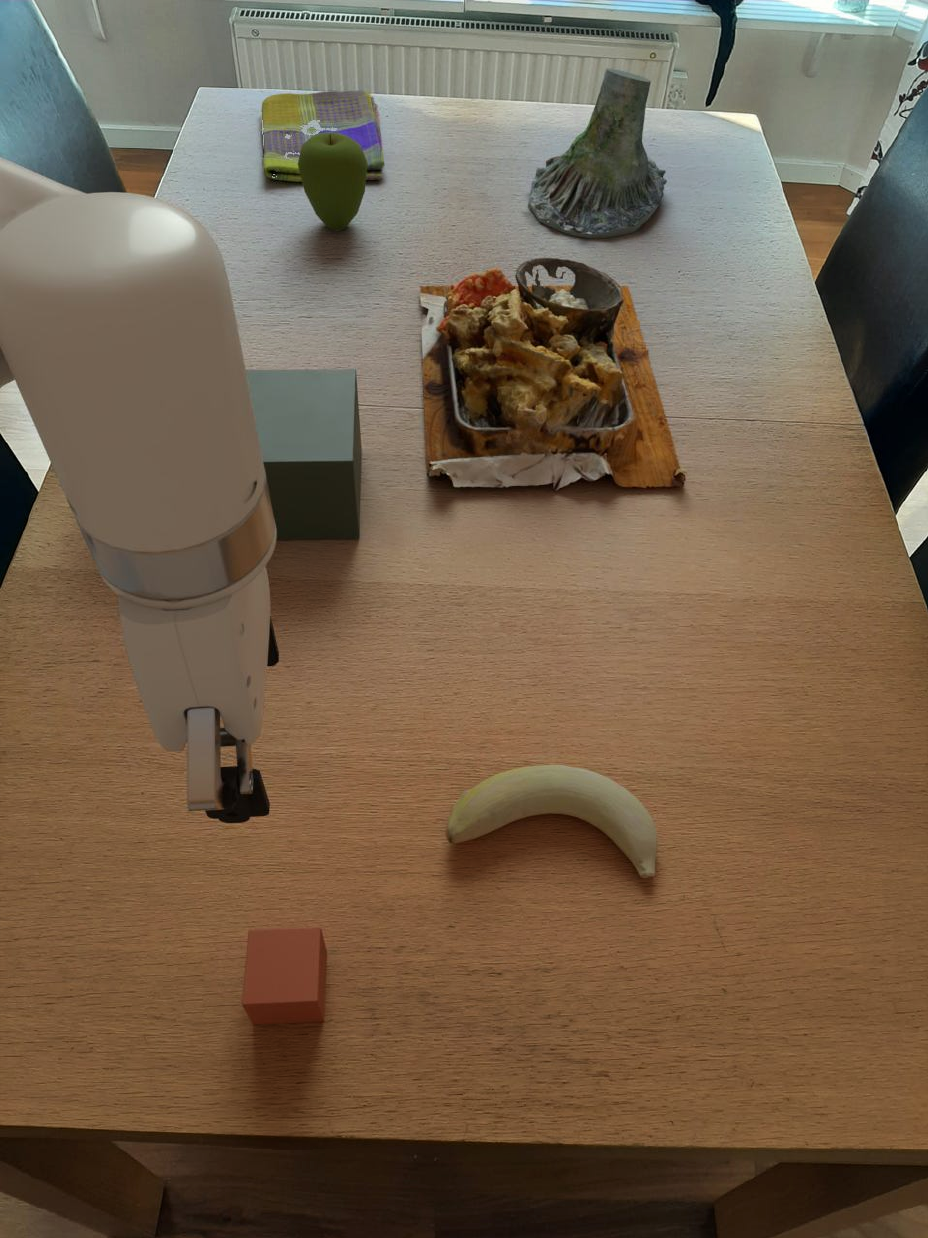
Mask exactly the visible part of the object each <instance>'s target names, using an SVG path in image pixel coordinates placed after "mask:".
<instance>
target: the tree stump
mask: <svg viewBox="0 0 928 1238" xmlns="http://www.w3.org/2000/svg"><path fill="white" fill-rule="evenodd" d="M603 75H604V76H603V79H602V83H601V86H600V89H599V93H598V96H597V99H596V102H595V105H594V108H593V110H592V113H591V115H590V119H589V121H588V124H587V127H586V128H585V129H584V131H583V132H582V133H580V134H578V135H577V136H576V137H575V139H574V140H573V141H572V143H571V144H570V146H569V148H568V149H567V150H566V151H565V152H564V153H562V154H560V155H555V156H553V157H550V158H549V159H547V160H545V167H537V168H536V170H535V176H534V178H533V179H532V181H531V187H530V195H529V197H528V201H527V202H528V203H527V207H528V208H529V210H530V211H531V212H532V213H533V215H534V216H535V218H536V219H537V220H538V221H539V223H540V224H541V223H542V224H544V225H545V226H548V227H550V228H553V229H554V230H557V231H558V232H561V233H563V234H565V235H569V236H575V237H578V238H579V237H580V238H586V239H610V238H613V237H619V236H623V235H624V236H625V235H630V234H633V233H635V232H636V231H637V230H639V229H640V228H641V227H643V226H644V225H645V223H647V222H648V220H649V219H650V218H651V217H652V216H653V214H654V213H655V212H656V211H657V208H658V207H659V205H660V203H661V201H662V198H663V197H664V190H665V185H666V184H667V181H668V180H667V179H665V178H664V176H665V174H666V173H667V171H666V170H664V169H660V168H658V166H657V164H656V162H655V161H654V160H653V159H652V158H650V157H649V156H648V153H647V151H646V149H645V147H644V144H643V134H644V125H645V119H646V108H647V102H648V98H649V92H650V87H651V82H652V81H651V80H650V79H648V78H646V77H644V76H640V75H638V74H635V73H632V72H628V71H623V70H620V69H616V68H615V69H614V68H605V72H604V74H603Z"/></svg>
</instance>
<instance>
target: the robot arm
mask: <svg viewBox="0 0 928 1238" xmlns="http://www.w3.org/2000/svg"><path fill="white" fill-rule="evenodd" d="M246 370H247V369H246V363H245V358H244V353H243V348H242V342H241V337H240V332H239V327H238V322H237V317H236V312H235V306H234V300H233V296H232V291H231V286H230V281H229V277H228V273H227V268H226V265H225V261H224V258H223V254H222V253H221V251H220V249H219V246H218V244H217V243H216V241H215V239H214V238H213V236H212V235H211V234H210V233H209V230H208V229H207V228H206V227H205V226H204V225H203V223H201V221H199V220H198V219H197V218H195V217H194V216H193V215H192V214H191V213H190V212H188V211H187V210H185V209H183V208H182V207H180V206H177V205H175V204H173V203H170V202H168V201H166V200H163V199H160V198H158V197H153V196H151V195H150V196H149V195H146V194H142V193H141V194H139V193H133V192H117V191H107V192H105V191H104V192H90V193H86V192H83V191H81V190H79V189H76V188H73V187H71V186H67V185H65V184H63V183H60V182H58V181H56V180H53V179H51V178H49V177H47V176H44V175H43V174H40V173H37V172H36V171H33V170H31V169H28V168H26V167H23V166H22V165H19V164H17V163H15V162H13V161H10V160H8V159H6V158H4V157H1V156H0V389H1V388H2V387H3V386H5V385H7V384H10V383H11V382H13V381H14V382H15V384H16V386H17V388H18V390H19V393H20V395H21V397H22V399H23V402H24V404H25V406H26V409H27V411H28V414H29V416H30V418H31V421H32V423H33V425H34V427H35V429H36V432H37V434H38V436H39V439H40V441H41V444H42V445H43V448H44V450H45V452H46V455H47V457H48V460H49V461H50V464H51V466H52V469H53V470H54V473H55V475H56V478H57V480H58V482H59V485H60V486H61V489H62V491H63V494H64V496H65V498H66V500H67V503H68V505H69V508H70V511H71V512H72V513H73V516H74V519H75V521H76V523H77V526H78V528H79V530H80V532H81V535H82V537H83V539H84V542H85V543H86V547H87V548H88V550H89V553H90V555H91V559H92V560H93V562H94V564H95V567H96V569H97V571H98V573H99V575H100V577H101V579H102V580H103V582H104V583H105V584H106V585H107V587H108V588H109V589H111V590H112V591H113V592H114V594H116V595H117V610H118V617H119V622H120V629H121V633H122V634H121V635H122V638H123V642H124V647H125V650H126V651H125V652H126V655H127V658H128V662H129V665H130V666H129V667H130V668H131V672H132V677H133V679H134V682H135V686H136V689H137V691H138V694H139V697H140V700H141V702H142V703H141V704H142V706H143V708H144V711H145V714H146V717H147V720H148V722H149V724H150V726H151V729H152V732H153V734H154V736H155V739H156V741H157V743H158V744H159V746H160V747H161V748H162V749H163V750H164V751H165V752H184V751H185V748H186V777H187V778H186V804H187V809H188V811H189V812H205V814H206V816H207V818H209V819H212V820H218V821H219V822H221V823H224V824H243V823H246V822H248V821H250V819H251V818H255V817H256V818H257V817H258V818H259V817H267V816H268V815H270V811H271V810H270V809H271V803H270V799H269V796H268V793H267V789H266V787H265V786H266V785H265V783H264V780H263V777H262V773H261V770H259V769H257V768H254V766H253V756H252V755H253V754H252V746H253V744H255V743H256V742H257V741H258V740H259V738H260V737H261V734H262V730H263V721H264V713H265V712H264V711H265V699H266V689H267V688H266V686H267V676H268V675H267V674H268V673H267V671H268V667H275V666H277V664H279V661H280V651H279V647H278V642H277V637H276V633H275V629H274V624H273V620H272V617H271V591H270V590H271V589H270V582H269V576H268V570H267V564H268V563H269V561H270V560H271V558H272V556H273V554H274V551H275V548H276V545H277V541H276V537H277V530H276V524H275V520H274V514H273V508H272V503H271V498H270V493H269V488H268V482H267V477H266V472H265V467H264V465H263V459H262V454H261V448H260V443H259V437H258V432H257V426H256V421H255V415H254V410H253V405H252V399H251V394H250V389H249V384H248V378H247V373H246ZM221 721H222V724H223V727H221ZM225 747H235V757H236V765H235V766H234V765H232V766H231V765H230V766H221V757H222V756H221V752H222V751H221V748H225Z"/></svg>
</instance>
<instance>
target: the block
mask: <svg viewBox="0 0 928 1238" xmlns="http://www.w3.org/2000/svg"><path fill="white" fill-rule="evenodd" d="M327 953H328V950H327V946H326V942H325V938H324V935H323V930H322V927H321V926H311V927H310V926H309V927H288V928H287V927H286V928H263V929H261V928H260V929H249V930H248V933H247V944H246V955H245V963H244V964H245V967H244V974H243V989H242V997H241V1006H242V1007H243V1009H244V1011H245V1013H246V1014H247V1016H248V1018H249V1020H250V1022H251V1023H252V1025H272V1024H273V1025H277V1024H293V1023H295V1024H297V1023H315V1022H324V1021H325V1012H326V1011H325V1009H326V986H327V985H326V984H327V981H326V979H327V960H328V959H327V958H328V956H327V955H328V954H327Z"/></svg>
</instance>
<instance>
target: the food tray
mask: <svg viewBox="0 0 928 1238" xmlns="http://www.w3.org/2000/svg"><path fill="white" fill-rule="evenodd" d="M538 266H542V267H543V268H544V269H545V270H546V272H547V275H548V277H550V278H553V279H560V280H563V279H564V274H566V273H567V271H561V276H560V277H559V276H557V270H558V268H567V269H568V270H570V271H571V272H572V273H573V274H574V283H573V285H541V281H540V280H539V269H535V270H536V274H535V277H534V273H533V271H534V267H538ZM526 273H528V274H529V275H530V276H531V277H532V278H535V279H534V282H535V284H533V283H532V284H531V285H528V280H527V276H526ZM514 276H515V277H514V278H515V281H516V283H517V285H514V284H512V283H511V281H510V280H509V279H508V278H506V275H505V274H504V273H503V271H502V269H500V268H499V267H494V268H493V269H492V268H487V269H486V272H485V273H484V272H481V273H480V272H475V273H472V274H469V275H468V276H466V277H465V278H464V279H462V280H461V281H460V282H458V283H457V284H456V283H455V284H454V283H451V285H450V286H448V285H426V286H424V285H419V292H420V293H419V299H420V307H423V308H426V309H428V311H427V315H426V314H422V313H421V314H422V316H421V347H422V348H421V350H422V352H421V353H422V356H421V357H422V383H423V388H422V389H423V412H424V415H423V417H424V426H425V428H424V429H425V432H424V436H425V439H424V440H425V453H426V454H425V455H426V456H425V458H426V472H427V473H426V476H427V477H434V479H439V480H444V478H445V477H446V476H448V478H449V479H450V481H451V482H452V485H453V487H454V488H461V487H462V488H467V487H468V488H470V487H471V488H475V487H476V488H478V487H480V488H504V487H505V488H509V487H517V486H521V487H527V486H536V487H537V486H539V485H540V486H542V485H549V484H552V483H553V488H552V489H553V491H554V492H555V493H556V492H558V491H559V489H560V488H563V487H566V486H568V485H570V483H575V482H577V481H578V480H580V479H584V480H585V481H588V482H591V483H592V482H593V481H596V480H598V479H601V478H602V477H604V476H606V474H607V475H611V476H612V479H613V481H614V483H615V484H616V485H617V486H619V487H622V488H632V487H635V488H643V489H647V487H649V488H652V487H654V488H657V487H658V488H661V487H662V488H663V487H666V488H669V487H670V488H671V487H672V488H674V487H679V488H683V487H684V485H685V482H686V481H687V478H686V475H688V470H686V469H685V468H682V467H681V466H680V463H679V459H678V456H677V454H676V452H677V451H676V448H675V446H674V445H675V444H674V442H673V441H674V440H673V437H672V435H671V430H670V427H669V423H668V419H667V418H666V413H665V409H664V405H663V403H662V399H661V396H660V392H659V389H658V386H657V384H658V383H657V382H656V378H655V376H654V375H655V374H654V372H653V369H652V365H651V361H650V356H649V351H650V349H647V346H646V342H645V340H644V337H643V331H642V329H641V328H640V327H641V324H640V321H639V319H638V316H637V313H636V308H635V304H634V302H633V299H632V294H631V292H630V288H629V285H620V284H619V283H618V282H617V281H616V280H615V279H614V278H612V277H611V276H610V275H609V274H607V273H606V272H603V271H601V270H599V269H596V268H594V267H592V266H589V265H588V264H586V263H584V262H578V261H575V260H571V259H563V258H561V259H560V258H556V257H538V258H533V259H528V260H525V261H524V262H522V263H520V265H519V266H518V267H517V268H516V271H515V275H514Z"/></svg>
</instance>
